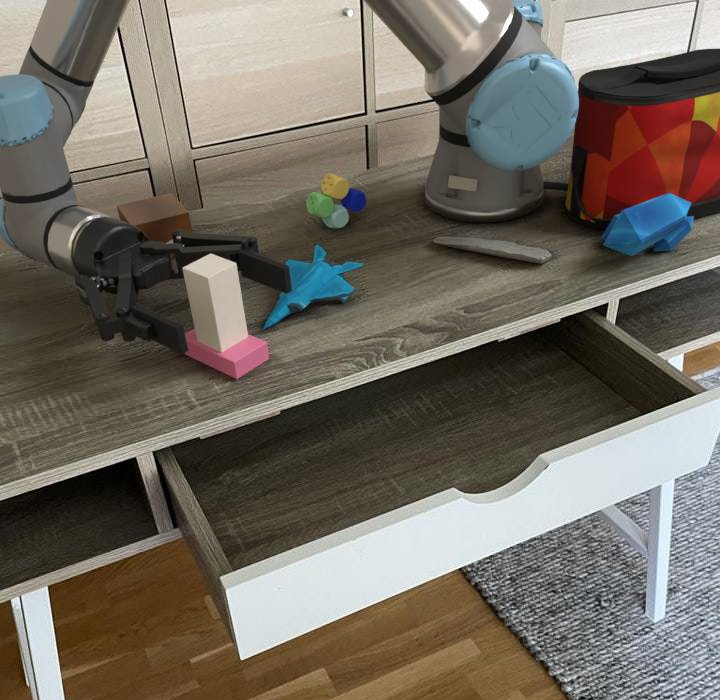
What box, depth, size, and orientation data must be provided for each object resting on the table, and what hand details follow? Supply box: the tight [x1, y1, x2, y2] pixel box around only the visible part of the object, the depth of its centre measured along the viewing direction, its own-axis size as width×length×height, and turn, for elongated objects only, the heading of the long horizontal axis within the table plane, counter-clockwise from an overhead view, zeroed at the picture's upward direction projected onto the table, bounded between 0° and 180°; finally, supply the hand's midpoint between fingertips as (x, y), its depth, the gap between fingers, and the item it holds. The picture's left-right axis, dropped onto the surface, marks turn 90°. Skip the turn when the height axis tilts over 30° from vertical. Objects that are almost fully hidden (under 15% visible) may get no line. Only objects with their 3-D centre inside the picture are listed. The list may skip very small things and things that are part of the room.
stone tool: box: [432, 235, 552, 264], centre depth 101 cm, size 14×1×5 cm
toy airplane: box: [262, 243, 365, 330], centre depth 93 cm, size 12×10×4 cm
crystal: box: [600, 193, 694, 257], centre depth 97 cm, size 7×9×12 cm
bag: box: [564, 48, 720, 230], centre depth 104 cm, size 30×14×16 cm, turn 114°
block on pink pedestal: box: [182, 254, 270, 380], centre depth 84 cm, size 8×4×10 cm, turn 49°
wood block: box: [116, 192, 194, 259], centre depth 105 cm, size 7×7×5 cm
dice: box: [305, 173, 367, 229], centre depth 107 cm, size 8×3×6 cm, turn 127°
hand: (237, 308), depth 81 cm, fingers open, 13 cm apart
